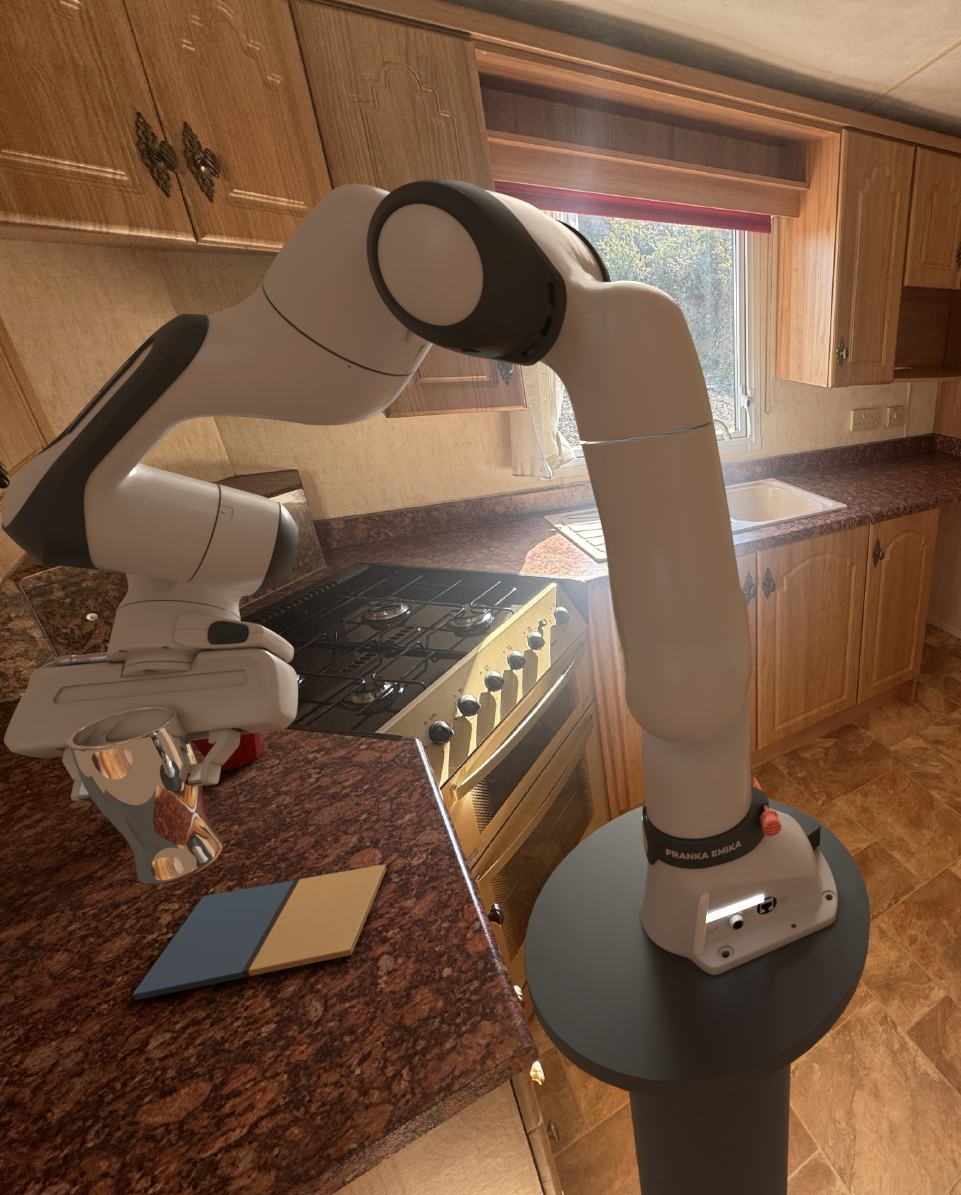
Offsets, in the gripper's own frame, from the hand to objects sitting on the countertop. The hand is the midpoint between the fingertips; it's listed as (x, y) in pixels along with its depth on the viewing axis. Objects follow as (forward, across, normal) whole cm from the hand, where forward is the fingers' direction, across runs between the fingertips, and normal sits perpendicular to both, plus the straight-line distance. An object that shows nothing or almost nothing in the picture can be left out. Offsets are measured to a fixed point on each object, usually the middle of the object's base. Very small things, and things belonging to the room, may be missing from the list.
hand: (147, 792), depth 55 cm
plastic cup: (-13, -16, +43) cm, 48 cm away
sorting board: (+13, +3, +18) cm, 22 cm away
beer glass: (+6, 0, +6) cm, 9 cm away
